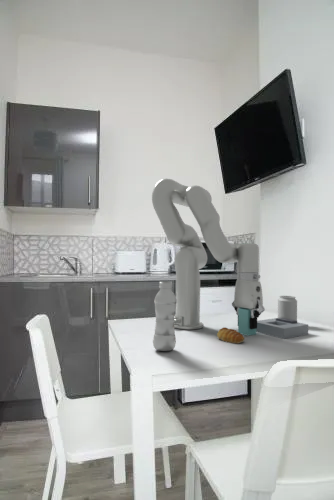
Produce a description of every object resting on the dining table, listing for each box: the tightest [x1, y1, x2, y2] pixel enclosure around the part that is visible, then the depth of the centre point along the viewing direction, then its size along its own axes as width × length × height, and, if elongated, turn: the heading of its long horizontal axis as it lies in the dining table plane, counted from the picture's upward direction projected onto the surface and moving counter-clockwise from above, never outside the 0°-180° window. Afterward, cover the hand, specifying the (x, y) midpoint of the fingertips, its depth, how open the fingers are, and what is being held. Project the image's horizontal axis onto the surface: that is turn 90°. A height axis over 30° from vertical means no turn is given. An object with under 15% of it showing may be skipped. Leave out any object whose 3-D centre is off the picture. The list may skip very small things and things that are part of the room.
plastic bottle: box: [152, 280, 177, 352], centre depth 95 cm, size 6×7×20 cm
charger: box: [237, 308, 257, 336], centre depth 118 cm, size 4×4×9 cm
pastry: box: [216, 327, 245, 344], centre depth 108 cm, size 9×7×4 cm
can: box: [277, 295, 298, 321], centre depth 134 cm, size 8×8×12 cm
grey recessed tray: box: [256, 317, 309, 340], centre depth 121 cm, size 14×14×4 cm
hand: (247, 326), depth 118 cm, fingers open, 5 cm apart
